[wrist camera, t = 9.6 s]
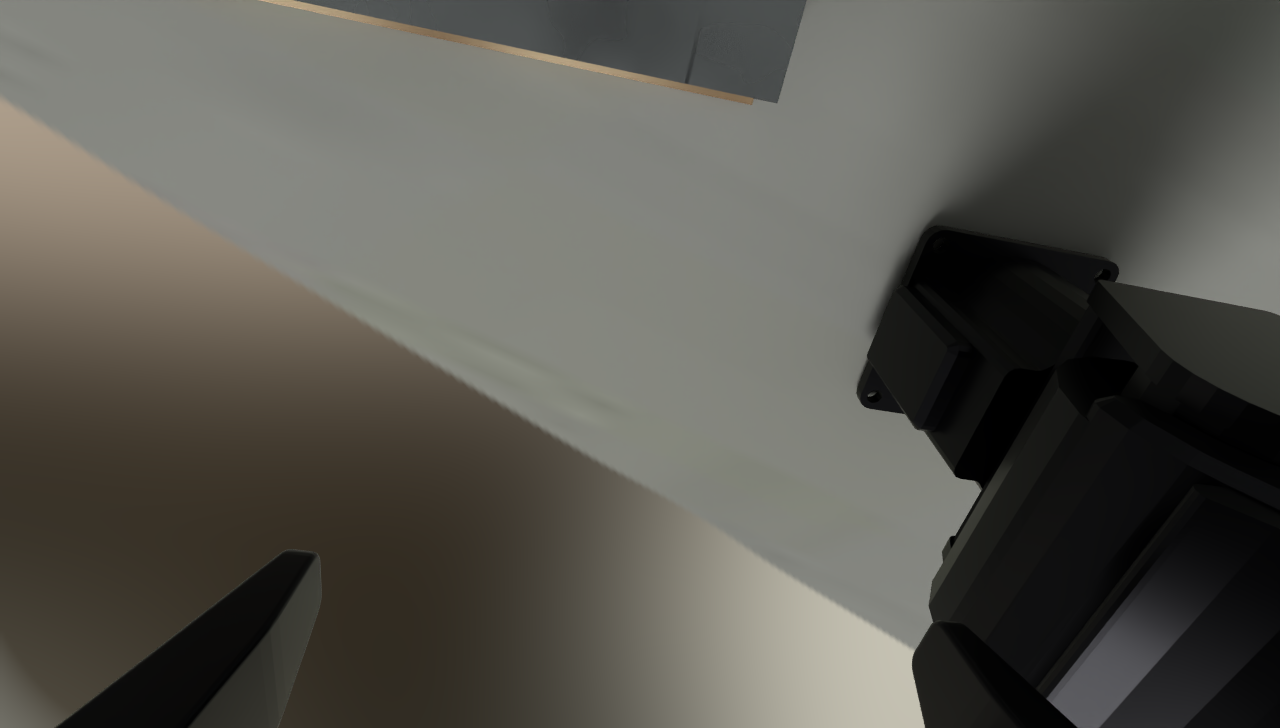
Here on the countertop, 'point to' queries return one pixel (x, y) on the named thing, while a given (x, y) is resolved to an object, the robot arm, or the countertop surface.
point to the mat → (512, 50)
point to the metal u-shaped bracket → (625, 34)
